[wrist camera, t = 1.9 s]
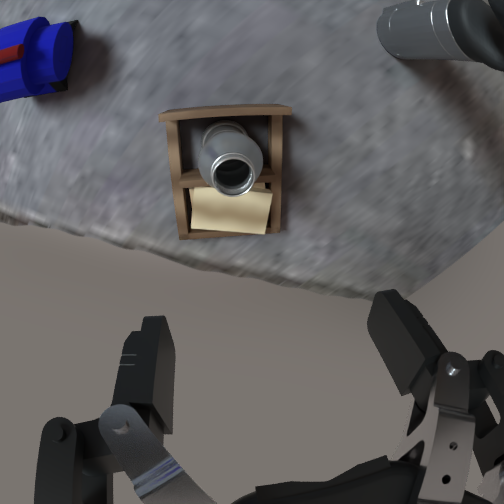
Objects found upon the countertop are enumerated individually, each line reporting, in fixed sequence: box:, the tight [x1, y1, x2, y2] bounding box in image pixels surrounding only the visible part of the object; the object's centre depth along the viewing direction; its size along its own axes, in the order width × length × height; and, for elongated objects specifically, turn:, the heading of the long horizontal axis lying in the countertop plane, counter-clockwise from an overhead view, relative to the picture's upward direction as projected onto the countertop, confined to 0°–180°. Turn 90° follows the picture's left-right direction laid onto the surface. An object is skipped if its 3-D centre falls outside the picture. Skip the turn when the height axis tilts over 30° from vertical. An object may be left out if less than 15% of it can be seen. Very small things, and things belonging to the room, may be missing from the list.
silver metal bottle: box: [198, 120, 263, 197], centre depth 32 cm, size 6×7×20 cm
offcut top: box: [191, 186, 273, 234], centre depth 42 cm, size 6×11×2 cm, turn 81°
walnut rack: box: [158, 104, 292, 240], centre depth 40 cm, size 20×16×8 cm
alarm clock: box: [0, 17, 78, 103], centre depth 22 cm, size 12×12×15 cm
